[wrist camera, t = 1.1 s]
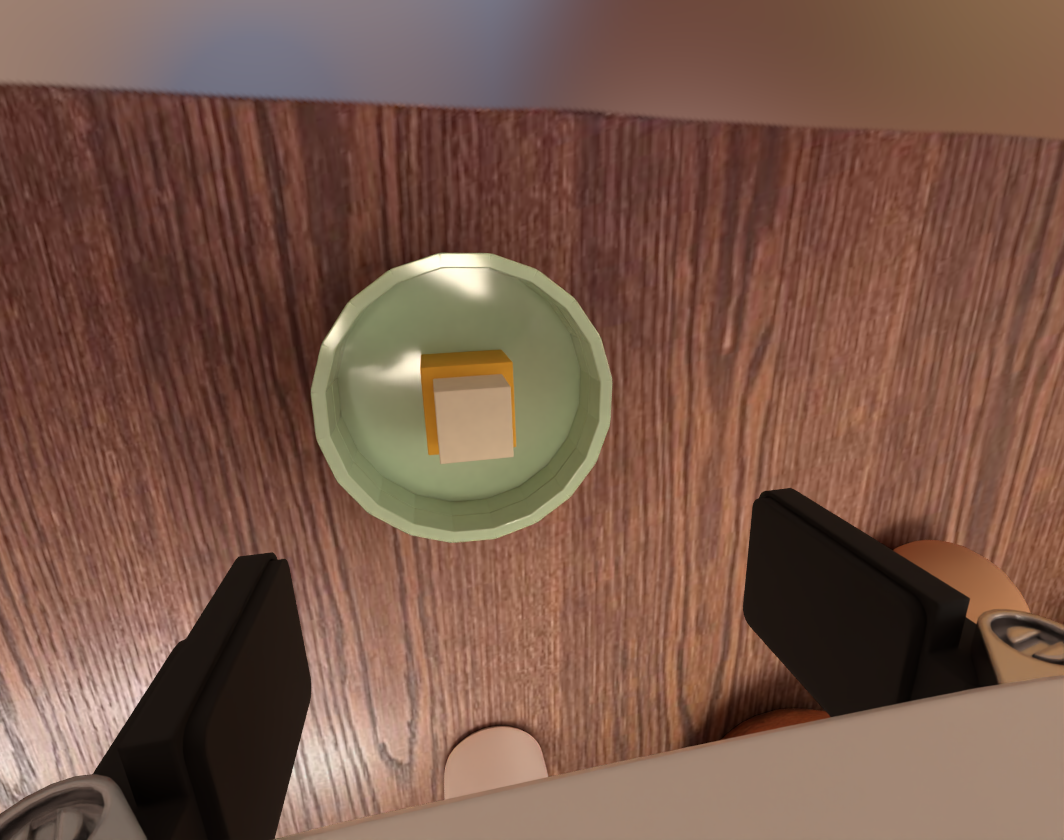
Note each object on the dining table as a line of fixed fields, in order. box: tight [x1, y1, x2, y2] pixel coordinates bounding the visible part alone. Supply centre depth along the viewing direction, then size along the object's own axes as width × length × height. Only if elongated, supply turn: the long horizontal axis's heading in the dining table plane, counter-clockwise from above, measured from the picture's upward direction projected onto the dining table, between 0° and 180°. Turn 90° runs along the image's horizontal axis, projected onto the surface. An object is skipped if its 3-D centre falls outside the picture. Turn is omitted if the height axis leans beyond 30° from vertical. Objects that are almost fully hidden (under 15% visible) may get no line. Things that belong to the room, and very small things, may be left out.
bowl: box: [310, 253, 612, 543], centre depth 25 cm, size 13×13×4 cm
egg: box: [893, 540, 1030, 624], centre depth 33 cm, size 6×6×8 cm
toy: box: [420, 349, 516, 464], centre depth 24 cm, size 4×4×6 cm
